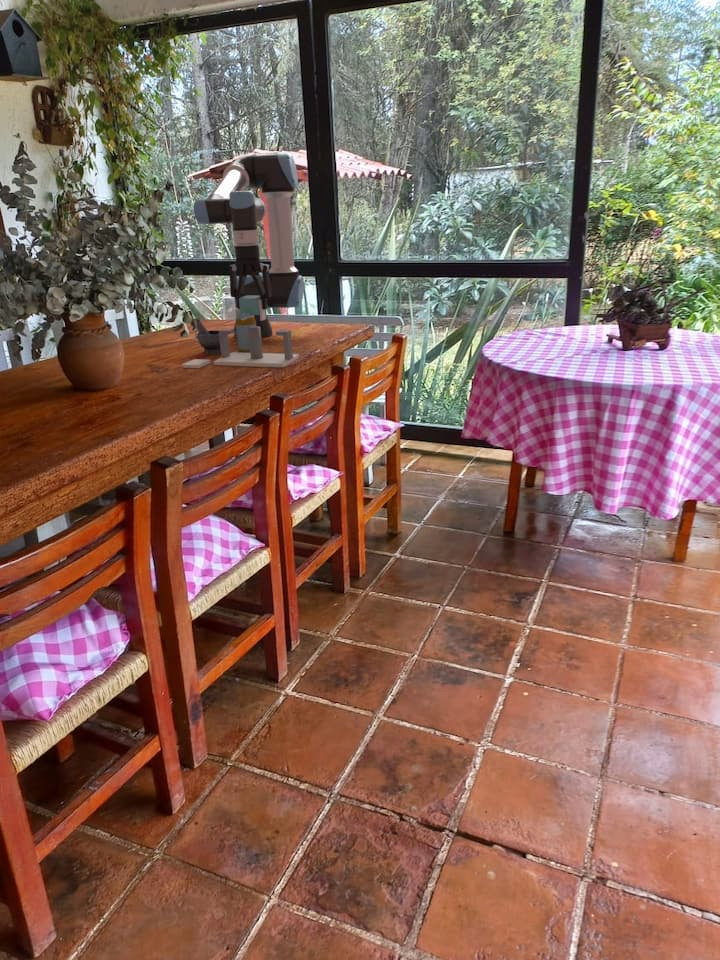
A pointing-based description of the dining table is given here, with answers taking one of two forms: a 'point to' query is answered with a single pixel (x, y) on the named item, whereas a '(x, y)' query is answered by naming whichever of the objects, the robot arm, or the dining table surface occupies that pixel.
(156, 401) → the dining table surface
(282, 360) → the white and grey stand
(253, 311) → the teal cube with tabs
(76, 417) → the dining table surface
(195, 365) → the tile
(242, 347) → the bottle
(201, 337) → the mortar and pestle
